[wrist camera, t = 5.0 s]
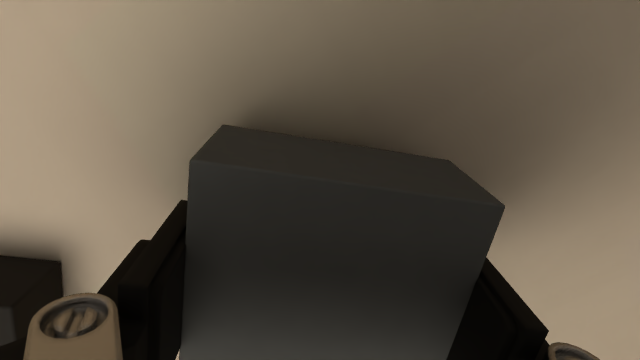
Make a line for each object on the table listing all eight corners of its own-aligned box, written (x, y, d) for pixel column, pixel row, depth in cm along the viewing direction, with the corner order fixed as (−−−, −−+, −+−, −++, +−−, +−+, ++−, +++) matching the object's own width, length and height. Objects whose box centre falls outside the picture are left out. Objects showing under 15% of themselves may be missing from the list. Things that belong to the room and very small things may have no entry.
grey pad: (222, 123, 11) (188, 159, 8) (449, 159, 11) (506, 205, 8) (206, 316, 13) (176, 404, 10) (395, 335, 14) (423, 423, 11)
